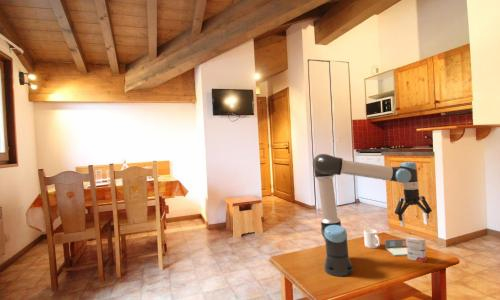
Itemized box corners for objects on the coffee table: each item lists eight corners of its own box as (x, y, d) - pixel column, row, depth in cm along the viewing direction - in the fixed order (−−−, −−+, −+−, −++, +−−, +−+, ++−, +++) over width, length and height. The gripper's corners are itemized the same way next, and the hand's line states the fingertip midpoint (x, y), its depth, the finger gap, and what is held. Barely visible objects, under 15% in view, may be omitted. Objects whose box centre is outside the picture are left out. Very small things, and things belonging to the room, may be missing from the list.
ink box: (427, 260, 149) (425, 239, 149) (424, 262, 146) (422, 241, 146) (410, 256, 156) (408, 236, 156) (407, 258, 153) (405, 238, 153)
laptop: (394, 256, 157) (393, 246, 158) (385, 249, 169) (384, 240, 170) (422, 254, 156) (421, 245, 156) (411, 247, 168) (410, 238, 168)
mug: (385, 249, 169) (384, 233, 169) (375, 251, 167) (373, 235, 167) (372, 243, 181) (370, 228, 181) (362, 245, 178) (360, 230, 179)
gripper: (392, 191, 149) (396, 228, 148) (436, 187, 148) (440, 225, 148) (386, 189, 156) (389, 225, 156) (428, 186, 156) (431, 221, 155)
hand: (414, 225), depth 152 cm, fingers open, 13 cm apart
